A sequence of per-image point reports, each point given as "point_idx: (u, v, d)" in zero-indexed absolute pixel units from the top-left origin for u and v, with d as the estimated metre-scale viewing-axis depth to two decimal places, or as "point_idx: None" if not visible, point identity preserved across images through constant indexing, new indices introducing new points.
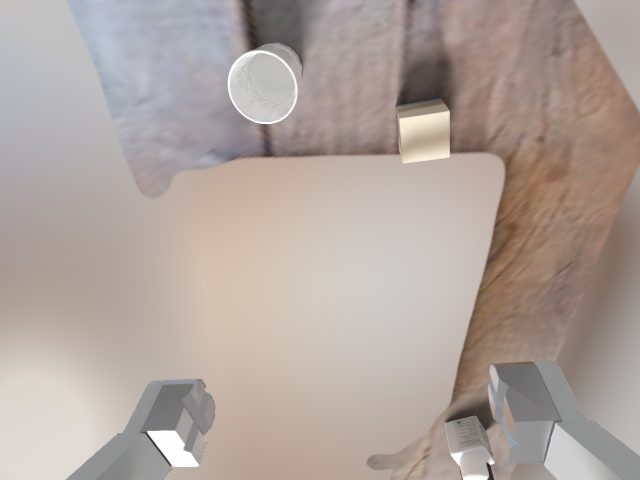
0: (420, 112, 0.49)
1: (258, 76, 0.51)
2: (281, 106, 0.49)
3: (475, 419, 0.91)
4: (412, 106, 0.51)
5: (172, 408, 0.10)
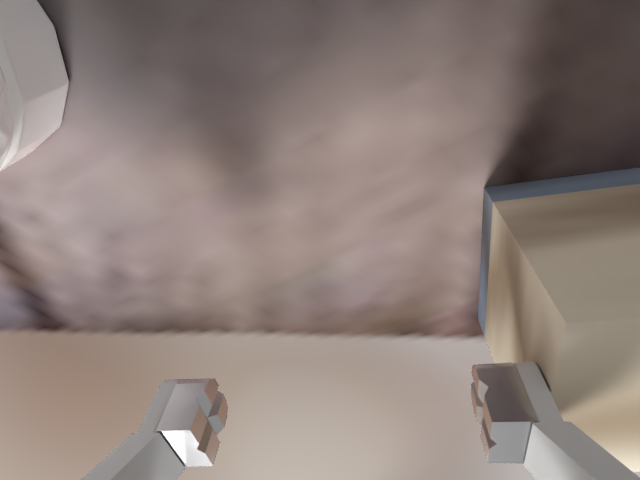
0: None
1: None
2: None
3: None
4: (578, 207, 0.11)
5: (186, 408, 0.10)
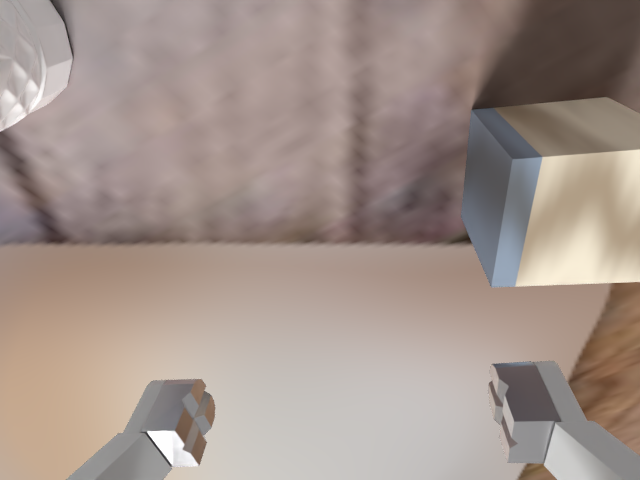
0: (617, 122, 0.15)
1: None
2: None
3: None
4: (545, 134, 0.15)
5: (172, 408, 0.10)
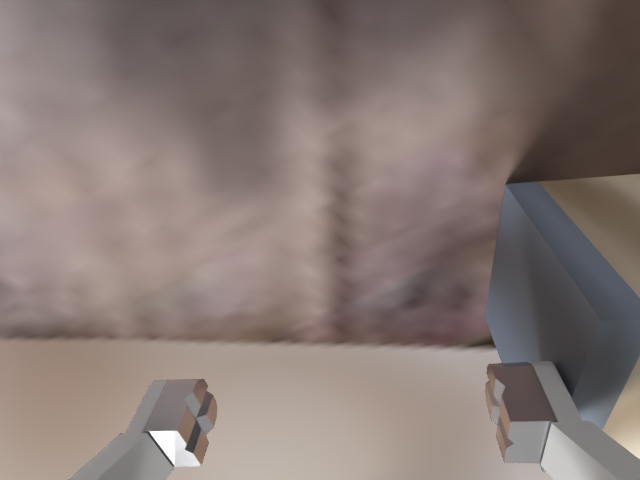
0: None
1: None
2: None
3: None
4: None
5: (174, 408, 0.10)
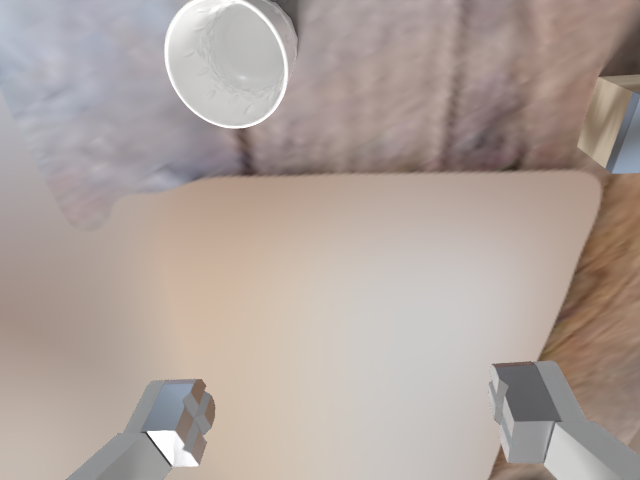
0: None
1: (227, 52, 0.32)
2: (263, 99, 0.30)
3: None
4: None
5: (172, 408, 0.10)
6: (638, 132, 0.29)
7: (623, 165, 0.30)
